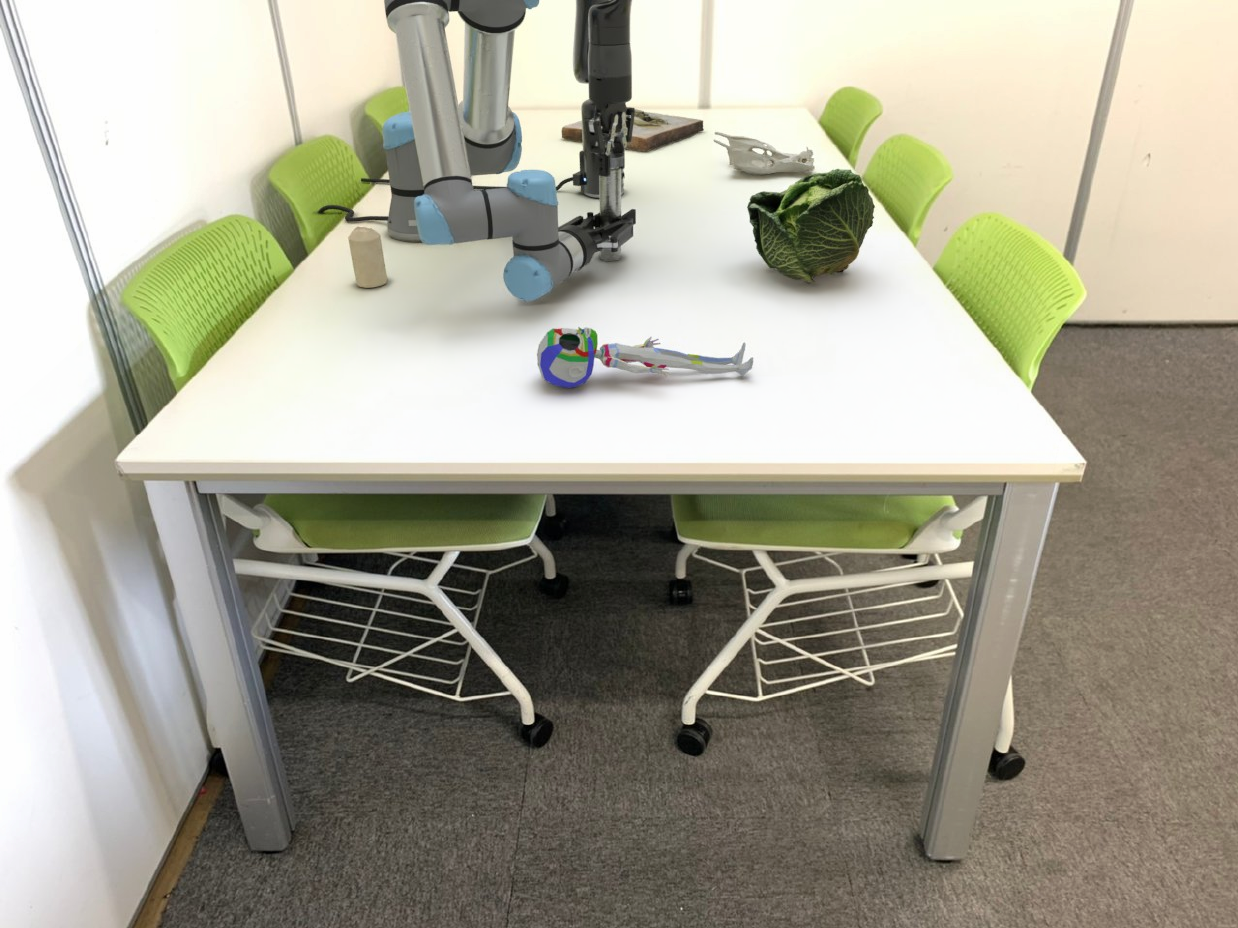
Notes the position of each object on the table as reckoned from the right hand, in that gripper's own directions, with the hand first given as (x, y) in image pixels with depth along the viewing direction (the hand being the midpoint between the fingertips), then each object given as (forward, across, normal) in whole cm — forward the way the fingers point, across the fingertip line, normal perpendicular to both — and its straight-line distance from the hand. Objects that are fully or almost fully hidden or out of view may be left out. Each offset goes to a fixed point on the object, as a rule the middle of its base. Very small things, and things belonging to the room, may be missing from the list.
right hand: (611, 172), depth 163 cm
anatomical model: (+16, -71, +2) cm, 73 cm away
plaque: (+16, -92, -46) cm, 105 cm away
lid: (-3, 0, 0) cm, 3 cm away
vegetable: (+16, -8, +36) cm, 40 cm away
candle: (+16, +32, -32) cm, 48 cm away
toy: (+16, +42, +30) cm, 54 cm away
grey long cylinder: (+16, 0, 0) cm, 16 cm away
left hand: (+9, -5, -1) cm, 11 cm away
